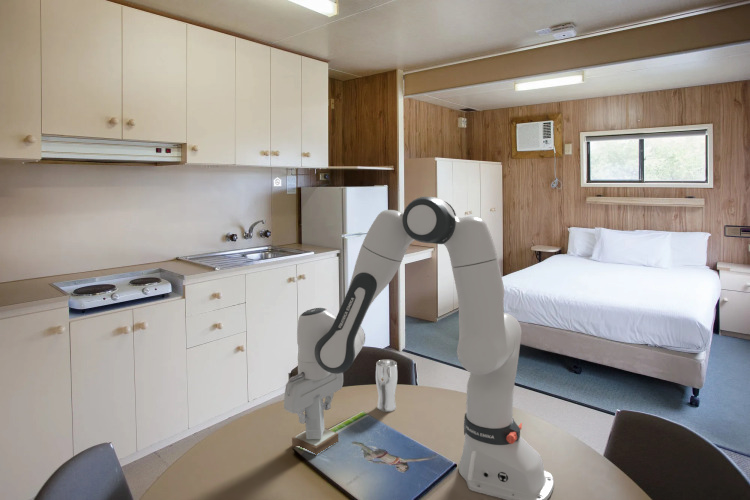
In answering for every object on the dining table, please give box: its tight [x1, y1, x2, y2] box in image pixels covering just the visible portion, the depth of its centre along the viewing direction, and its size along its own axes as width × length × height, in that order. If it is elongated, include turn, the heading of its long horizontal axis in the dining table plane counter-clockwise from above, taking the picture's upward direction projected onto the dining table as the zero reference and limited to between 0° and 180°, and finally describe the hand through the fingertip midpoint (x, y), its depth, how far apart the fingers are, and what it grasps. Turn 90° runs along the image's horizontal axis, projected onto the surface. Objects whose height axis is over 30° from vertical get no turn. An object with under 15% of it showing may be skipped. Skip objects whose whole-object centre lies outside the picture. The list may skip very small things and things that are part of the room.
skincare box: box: [304, 395, 325, 439], centre depth 129 cm, size 6×4×12 cm
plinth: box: [291, 427, 339, 455], centre depth 130 cm, size 9×9×3 cm
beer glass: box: [375, 359, 398, 413], centre depth 150 cm, size 7×7×15 cm
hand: (315, 415), depth 129 cm, fingers open, 8 cm apart
